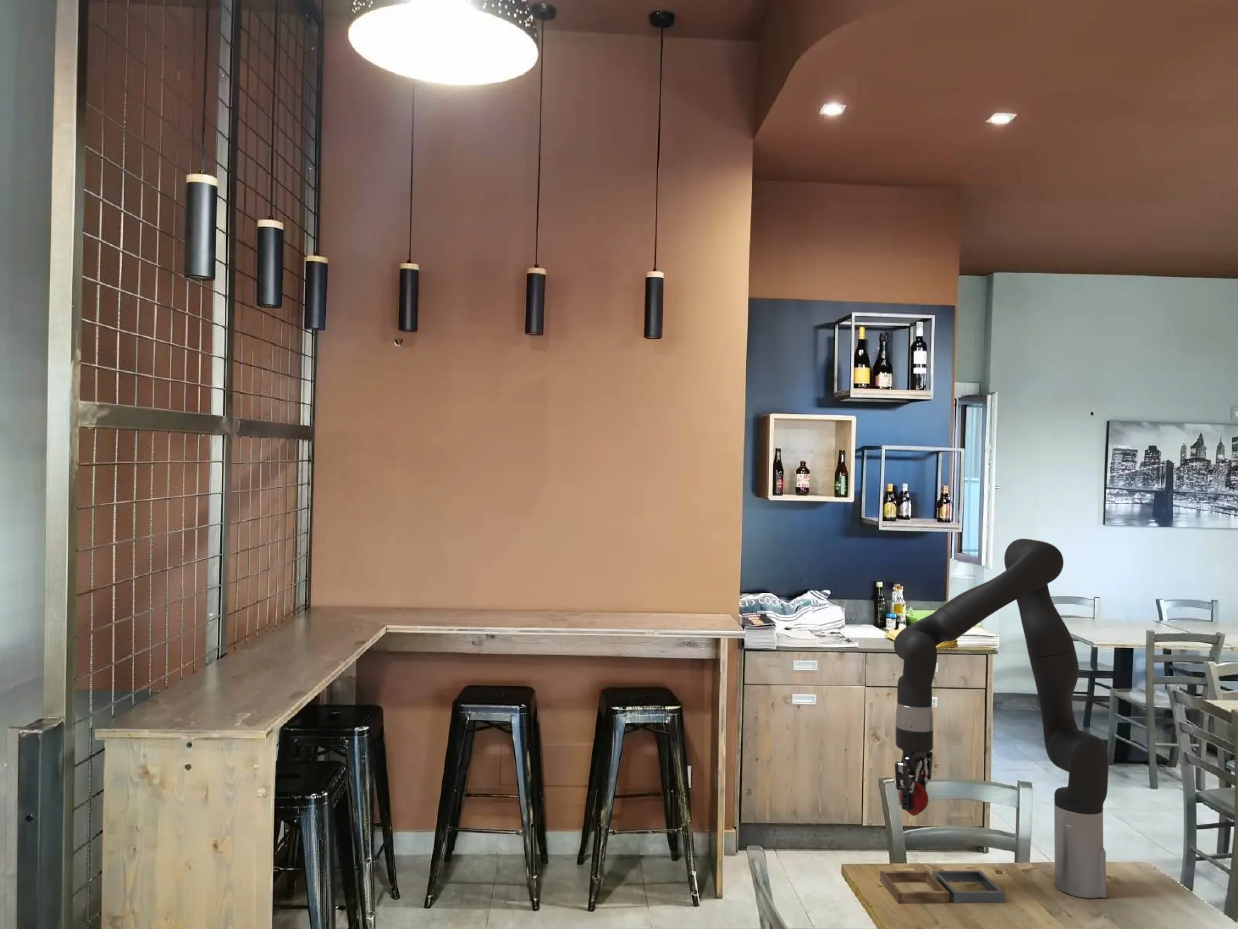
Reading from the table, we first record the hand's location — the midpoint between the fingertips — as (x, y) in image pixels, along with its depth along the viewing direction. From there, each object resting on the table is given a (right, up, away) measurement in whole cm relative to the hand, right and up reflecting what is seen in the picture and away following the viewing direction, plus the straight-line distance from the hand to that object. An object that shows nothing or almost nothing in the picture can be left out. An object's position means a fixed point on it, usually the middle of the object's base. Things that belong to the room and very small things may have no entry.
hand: (913, 806), depth 183 cm
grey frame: (+11, -18, 0) cm, 21 cm away
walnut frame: (0, -18, -1) cm, 18 cm away
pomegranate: (0, -2, 0) cm, 2 cm away
